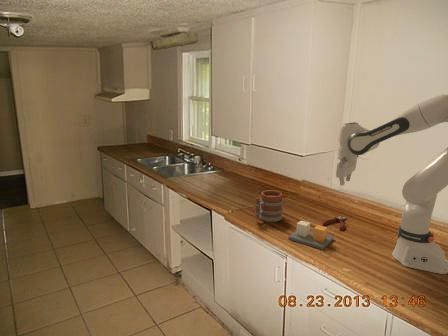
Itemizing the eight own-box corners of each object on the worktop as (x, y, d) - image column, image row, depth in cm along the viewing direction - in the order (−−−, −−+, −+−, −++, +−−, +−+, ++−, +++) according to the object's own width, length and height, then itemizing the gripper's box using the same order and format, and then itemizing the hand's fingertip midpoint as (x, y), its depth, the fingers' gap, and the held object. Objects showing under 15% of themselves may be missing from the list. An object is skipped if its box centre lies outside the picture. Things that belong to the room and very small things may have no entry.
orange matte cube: (326, 238, 167) (327, 227, 165) (322, 242, 163) (323, 230, 161) (316, 235, 170) (317, 224, 168) (312, 239, 166) (313, 228, 164)
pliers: (353, 220, 195) (354, 216, 194) (341, 232, 179) (342, 227, 178) (334, 215, 201) (334, 211, 201) (321, 226, 186) (321, 222, 185)
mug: (287, 218, 195) (289, 193, 192) (263, 226, 184) (265, 200, 180) (270, 211, 206) (271, 187, 202) (247, 218, 195) (247, 193, 191)
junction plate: (333, 239, 169) (334, 225, 168) (322, 249, 159) (324, 235, 157) (300, 229, 180) (301, 216, 178) (288, 239, 169) (289, 225, 167)
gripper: (347, 160, 153) (345, 189, 157) (359, 153, 169) (357, 179, 173) (333, 158, 157) (331, 186, 160) (346, 151, 173) (344, 177, 176)
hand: (345, 183), depth 167 cm, fingers open, 8 cm apart
